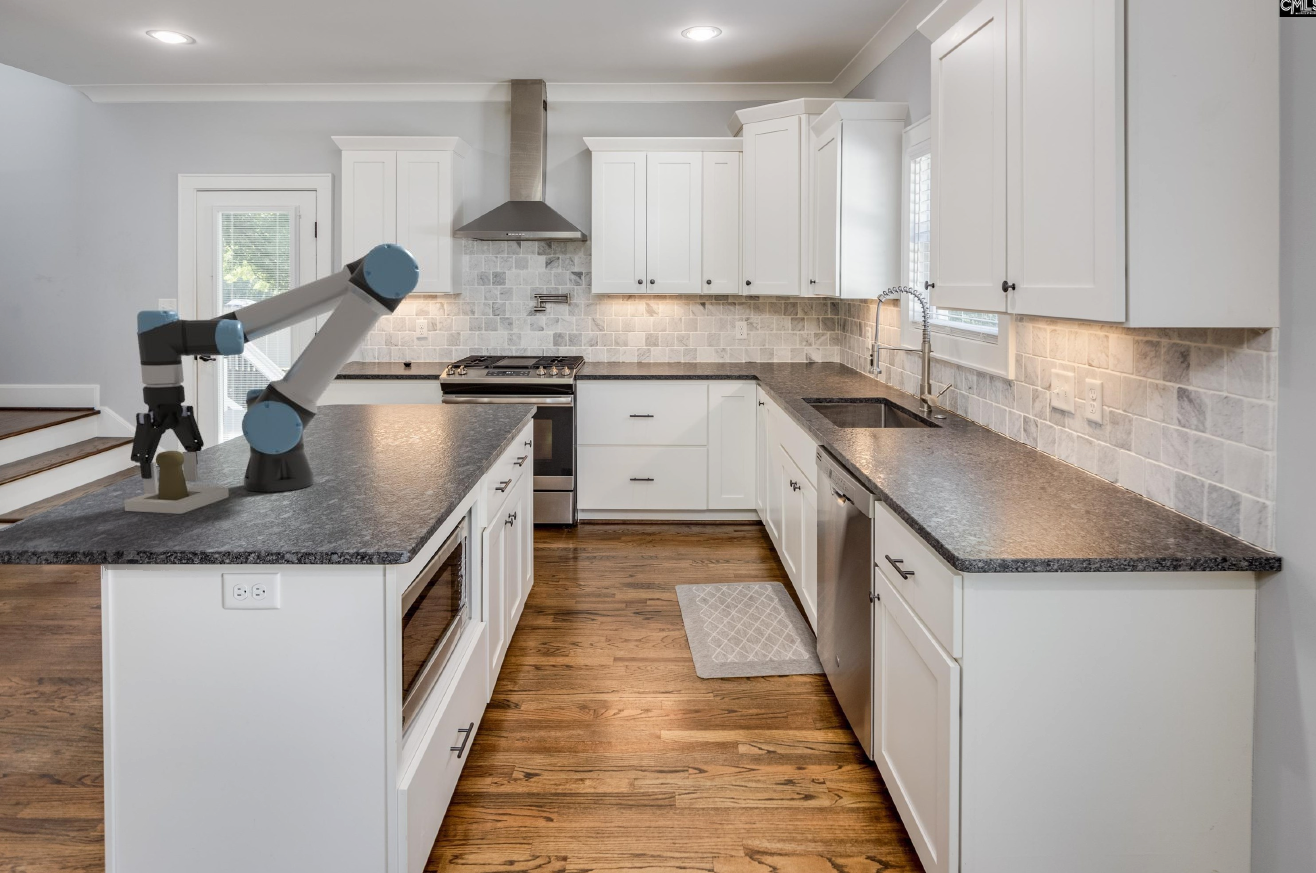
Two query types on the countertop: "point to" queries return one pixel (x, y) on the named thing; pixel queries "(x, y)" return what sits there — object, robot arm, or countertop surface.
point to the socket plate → (195, 500)
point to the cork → (171, 476)
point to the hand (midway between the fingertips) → (172, 487)
